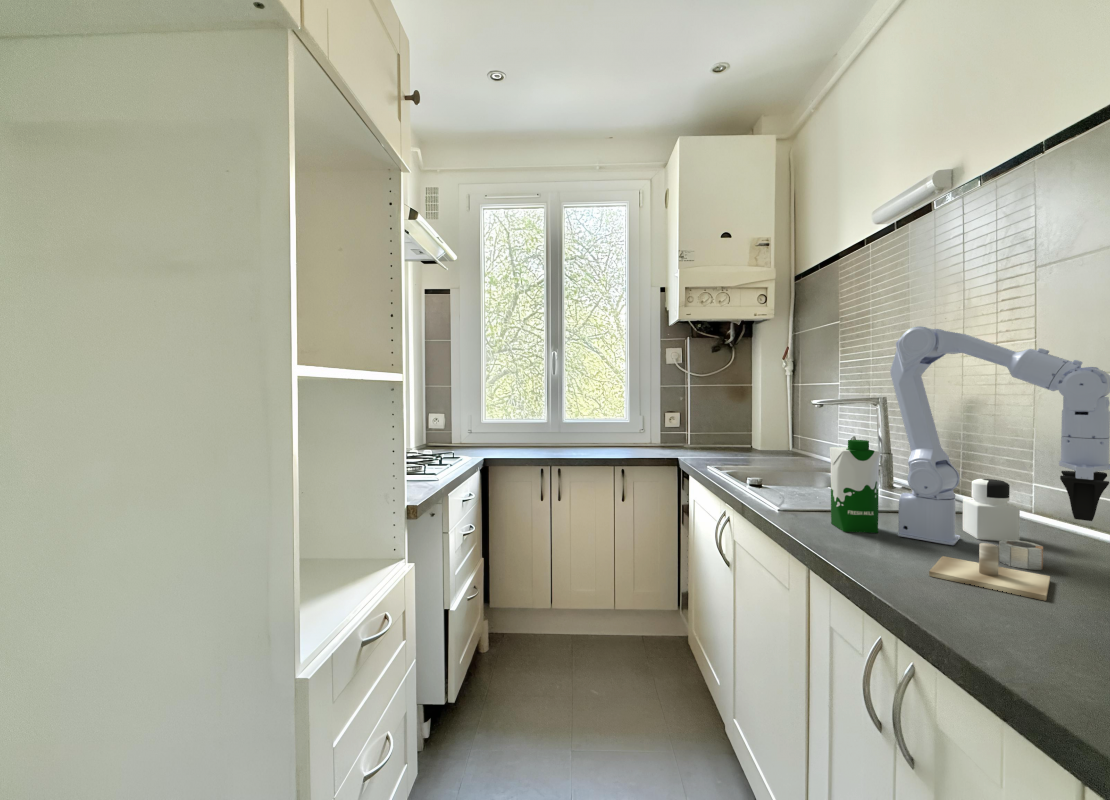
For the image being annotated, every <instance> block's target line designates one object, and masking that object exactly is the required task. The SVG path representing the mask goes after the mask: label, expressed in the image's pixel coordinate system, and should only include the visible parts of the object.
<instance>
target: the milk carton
mask: <svg viewBox="0 0 1110 800" xmlns="http://www.w3.org/2000/svg"><path fill="white" fill-rule="evenodd" d="M829 455H830V456H829V457H830V524H831V525H832V526H834V527H836V528H838V529H839V530H840V531H842V532H843V533H870V534H871V533H872V534H874V533H875V534H878V533H879V495H880V494H879V491H880V490H879V485H880V483H879V482H880V480H879V479H880V478H879V477H880V476H879V475H880V472H879V470H880V469H879V468H880V458H881V450H877V449H873V448H870V441H869V440H867V439H865V440H864V439H849V440H847V447H846V446H845V447H841V446H840V447H839V446H838V447H837V446H836V447H835V446H831V447H830V446H829Z"/></svg>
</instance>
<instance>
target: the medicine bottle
mask: <svg viewBox="0 0 1110 800" xmlns="http://www.w3.org/2000/svg"><path fill="white" fill-rule="evenodd" d="M1008 502H1010V484H1009V482H1006V481H1004V480H999V479H995V478H994V479H993V478H977V479H974V480H972V481H971V498H963V499H962V530H963V532H965V533H966V534H968V535H970V536H972V537H973V538H975V539H976V540H981V541H992V542H993V541H995V542H1000V540H1019V541H1020V527H1021V526H1020V521H1021V520H1020V518H1021V517H1020V514H1021V513H1020V511H1021V509H1020V507H1018V506H1016V505H1013V504H1011V503H1008Z"/></svg>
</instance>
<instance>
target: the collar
mask: <svg viewBox="0 0 1110 800" xmlns="http://www.w3.org/2000/svg"><path fill="white" fill-rule="evenodd" d="M998 542H999V543H998V546H999V563H1001V564H1004V565H1006V566H1009V567H1013V568H1019V569H1024V570H1029V571H1030V570H1043V567H1044V546H1043V545H1040V544H1038V543H1034V542H1030V541H1023V540H1020V539H1019V540H1000V541H998Z"/></svg>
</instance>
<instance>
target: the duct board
mask: <svg viewBox="0 0 1110 800" xmlns="http://www.w3.org/2000/svg"><path fill="white" fill-rule="evenodd" d="M978 549H979V551H978V553H979V554H978V555H979V556H978V557H979V558H978V562H976V561H971V560H966V559H960V558H955V557H950V556H945V555H944V556H943V555H941V557H940V558H939V559H938V560H937V562H935V564H934V565H933V566H932V567H931V568H930V569H929V571H928V576H929V577H933V578H937V579H942V580H947V581H951V582H956V583H961V584H964V583H965V585H969V584H971V585H970V586H974V585H975V586H974V587H978V586H979V588H983V587H984V589H988V590H992V589H993V591H997V590H998V591H999V592H1002V591H1003V592H1002V593H1006V592H1007V593H1008V594H1011V593H1012V595H1017V596H1020V595H1021V597H1024V598H1025V597H1026V598H1030V599H1036V600H1040V601H1045V602H1046V601H1047V598H1048V595H1049V594H1048V593H1049V588H1050V584H1051V576H1050V575H1046V574H1039V573H1035V572H1029V571H1024V570H1019V569H1015V568H1008V567H1002V566H999V563H1000V562H999V545H997V544H993V543H987V542H981V543H979V548H978Z"/></svg>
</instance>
